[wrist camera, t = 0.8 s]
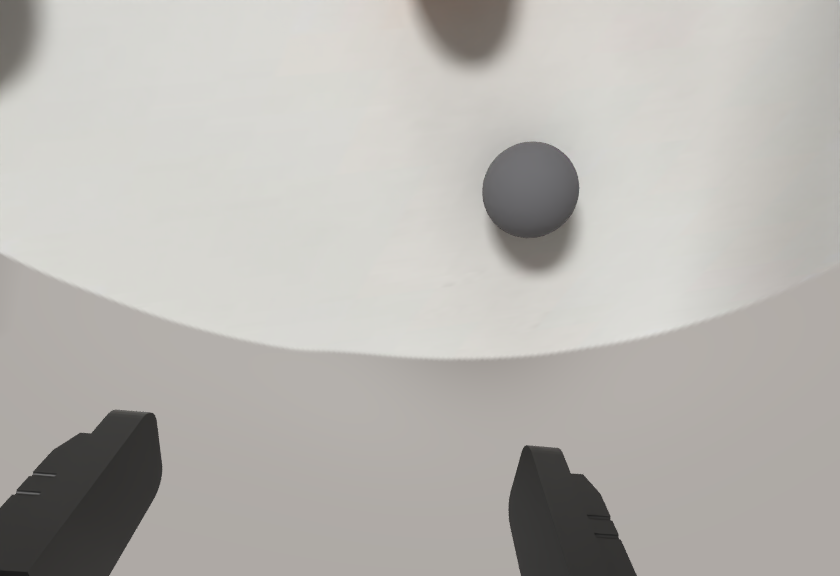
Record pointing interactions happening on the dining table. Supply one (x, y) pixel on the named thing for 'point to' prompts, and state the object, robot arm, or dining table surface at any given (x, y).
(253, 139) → the dining table surface
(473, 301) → the dining table surface
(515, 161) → the gray ball
